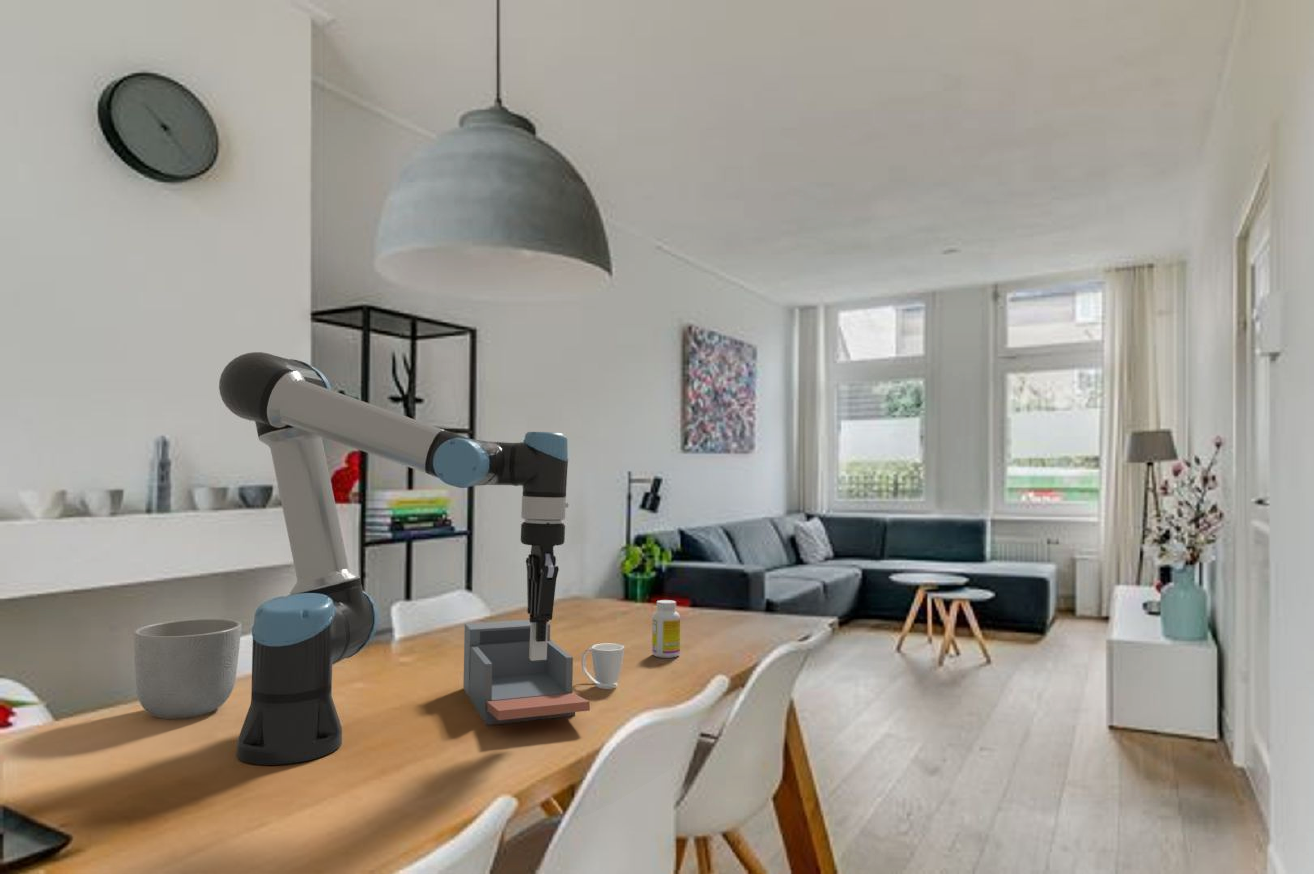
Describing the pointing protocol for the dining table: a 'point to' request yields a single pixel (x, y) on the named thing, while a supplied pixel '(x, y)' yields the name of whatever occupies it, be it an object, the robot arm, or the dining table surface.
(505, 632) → the grey box shell
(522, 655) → the grey drop-front box
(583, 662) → the cup
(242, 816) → the dining table surface
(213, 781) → the dining table surface
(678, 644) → the supplement bottle
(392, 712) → the dining table surface
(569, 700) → the panel
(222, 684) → the planter
